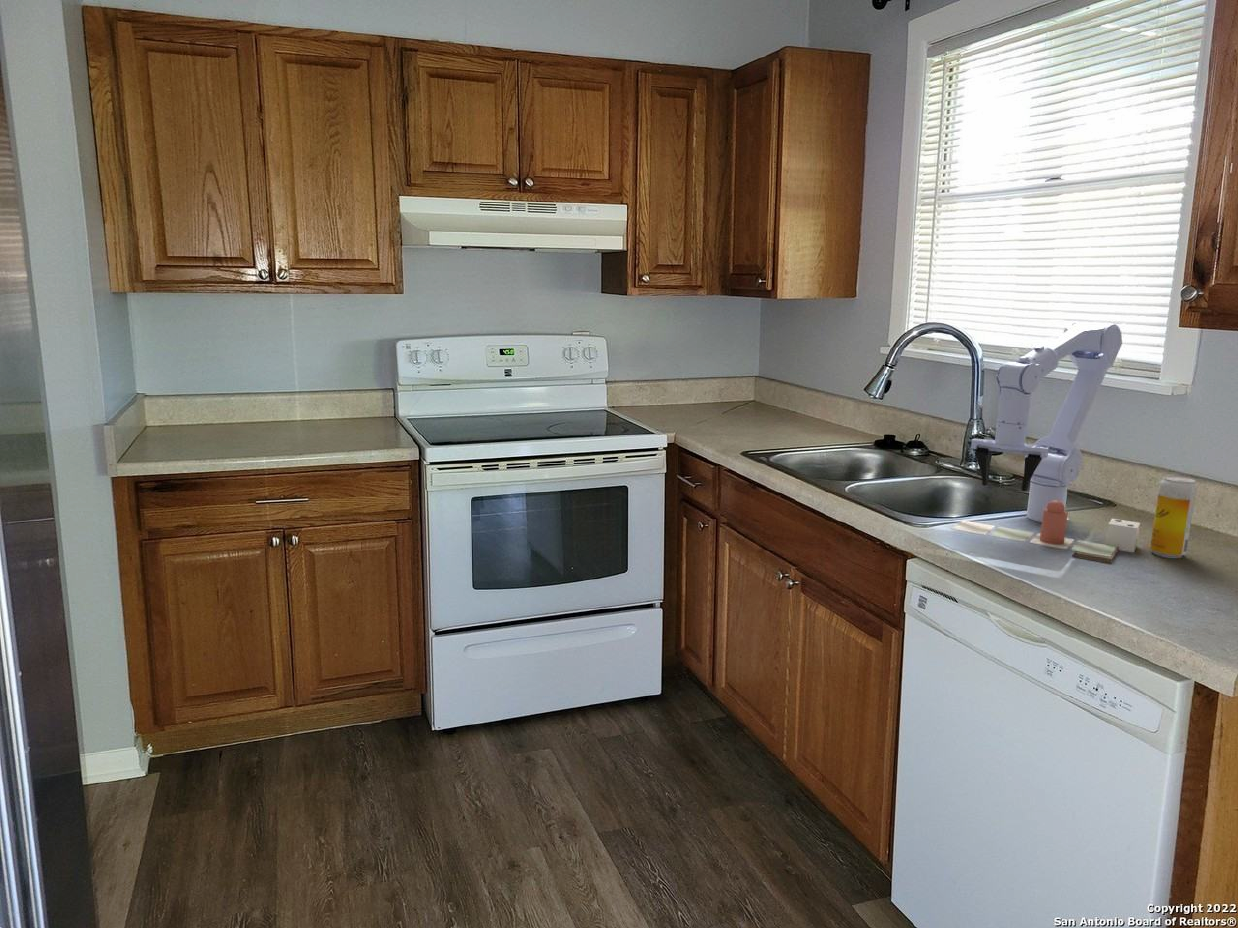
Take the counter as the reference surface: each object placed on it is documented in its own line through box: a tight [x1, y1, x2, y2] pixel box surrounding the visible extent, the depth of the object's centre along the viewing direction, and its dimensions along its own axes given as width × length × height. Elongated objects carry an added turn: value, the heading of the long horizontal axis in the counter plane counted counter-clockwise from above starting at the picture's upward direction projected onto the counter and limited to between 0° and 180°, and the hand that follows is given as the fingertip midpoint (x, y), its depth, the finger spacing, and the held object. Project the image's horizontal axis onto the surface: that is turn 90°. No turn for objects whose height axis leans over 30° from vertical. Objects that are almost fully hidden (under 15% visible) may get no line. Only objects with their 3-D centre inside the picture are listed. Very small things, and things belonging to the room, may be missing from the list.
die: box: [1104, 518, 1141, 553], centre depth 185 cm, size 5×5×5 cm
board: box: [950, 519, 1120, 564], centre depth 186 cm, size 10×30×1 cm, turn 55°
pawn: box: [1040, 500, 1069, 544], centre depth 183 cm, size 4×4×8 cm
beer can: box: [1149, 475, 1198, 559], centre depth 180 cm, size 6×6×15 cm
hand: (1004, 487), depth 192 cm, fingers open, 7 cm apart
